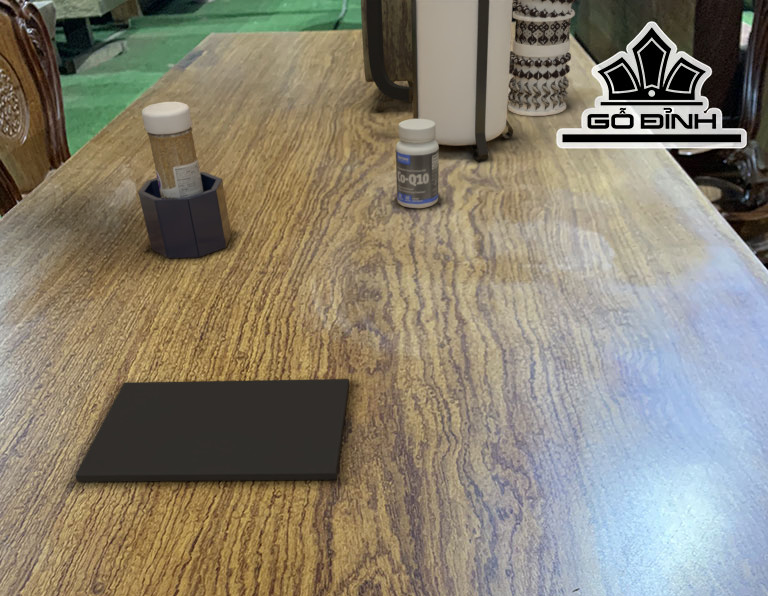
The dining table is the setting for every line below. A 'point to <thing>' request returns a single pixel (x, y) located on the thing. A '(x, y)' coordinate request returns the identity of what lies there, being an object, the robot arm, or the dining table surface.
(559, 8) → the decorative candle
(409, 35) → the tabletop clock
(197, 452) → the mat
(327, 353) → the dining table surface
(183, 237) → the pen cup
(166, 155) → the sprinkles bottle
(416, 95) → the coffee press
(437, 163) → the pill bottle
